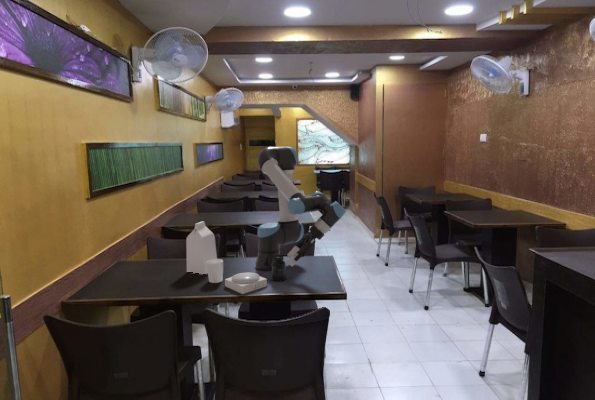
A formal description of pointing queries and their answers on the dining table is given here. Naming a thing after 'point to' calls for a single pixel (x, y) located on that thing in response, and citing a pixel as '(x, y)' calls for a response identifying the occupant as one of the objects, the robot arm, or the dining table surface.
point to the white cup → (215, 270)
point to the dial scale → (245, 282)
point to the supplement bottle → (278, 268)
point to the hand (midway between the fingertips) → (289, 260)
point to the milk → (200, 248)
